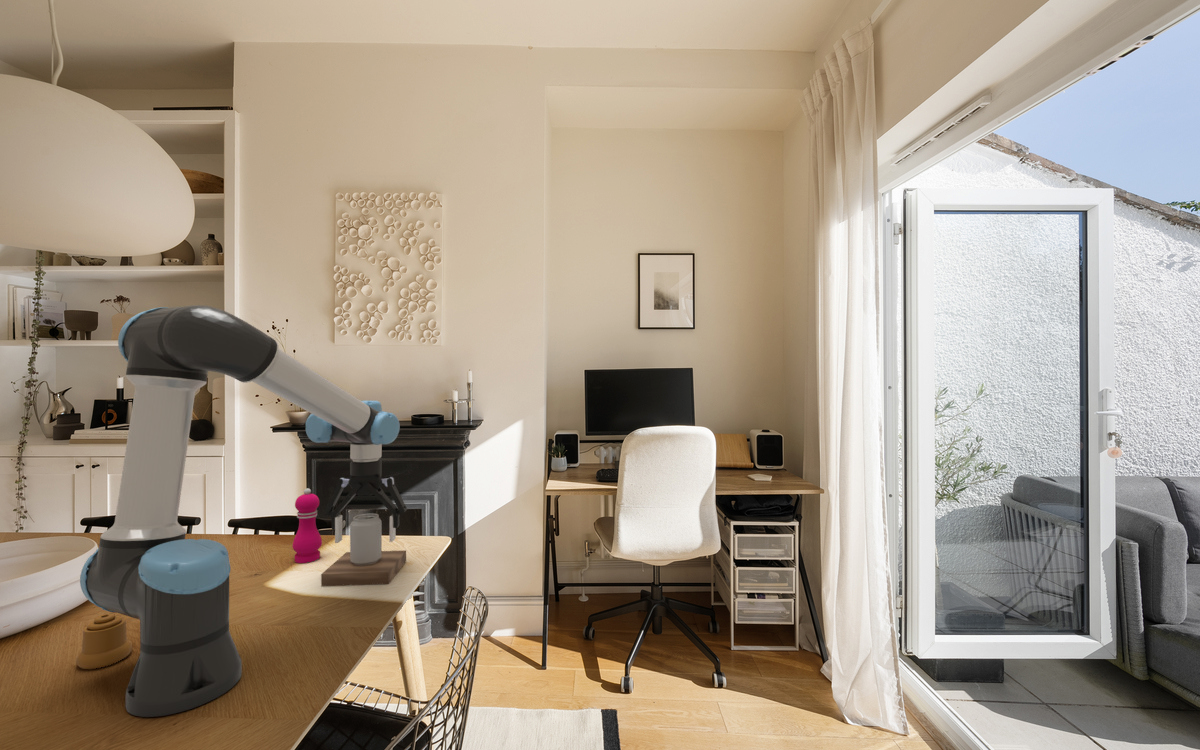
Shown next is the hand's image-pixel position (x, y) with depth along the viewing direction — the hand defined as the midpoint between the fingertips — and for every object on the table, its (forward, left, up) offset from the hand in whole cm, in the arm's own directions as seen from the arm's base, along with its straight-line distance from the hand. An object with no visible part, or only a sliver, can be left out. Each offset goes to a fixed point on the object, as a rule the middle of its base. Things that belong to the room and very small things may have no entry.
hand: (365, 540), depth 138 cm
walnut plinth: (0, 0, -9) cm, 8 cm away
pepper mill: (+12, +20, -9) cm, 25 cm away
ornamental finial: (-39, +33, -9) cm, 52 cm away
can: (0, 0, -6) cm, 6 cm away
